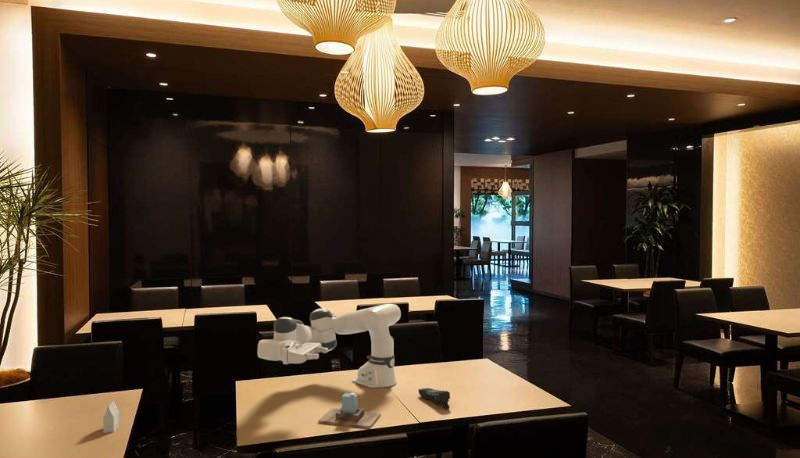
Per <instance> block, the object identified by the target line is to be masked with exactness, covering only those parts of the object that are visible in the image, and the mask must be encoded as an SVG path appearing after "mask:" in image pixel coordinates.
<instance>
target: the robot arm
mask: <svg viewBox="0 0 800 458" xmlns="http://www.w3.org/2000/svg"><path fill="white" fill-rule="evenodd" d="M401 316H402V312H401V309H400V307H399V306H398V305H397V304H395V303H394V304H393V303H384V304H380V305H376V306H375V305H374V306H371V307H367V308H362V309H359V310H354V311H349V312H345V313H341V314H340V315H337V316H334V312H331V310H329V309H327V308H317V309H315V310H313V311H312V312H311V313H310V314H309V321H310V325H311V326H310V325H305V323H304V322H303V321H301V320H299V319H295V318H292V317H289V316H282V317H279V318H277V319H276V320H275V321H274V322H273V338H272V339H270V338H269V339H261V340H259V341H258V343H257V345H256V346H257V347H256V354H257V357H258V358H260V359H263V360H266V361H273V362H274V361H276V362H282V364H283V365H289V364H303V363H305V362H306V361H307V360H318V359H319V358H320V354H319V353H322V354H327V353H328V352H330V351H332V350H333V349H335V348H336V347H337V343H338V342H337V341H338V339H336V334H338V335H352V334H358V333H363V332H367V331H368V332H369V336H370V341H371V346H370V347H371V354H369V355H367V356H366V359H368V361H366V362H365V363H364V364H363V365H362V366H360V367H359V368H358V371H357V374H356V375H357V376H355V377H353V379H352V382H353V383H355V384H358V385H362V386H365V387H368V388H371V389H376V388H388V387H393V386H394V385H397V383H398V382H397V378H396V373H395V354H394V351H395V350H394V347H395V345H394V344H395V343H394V341H395V340H394V338H393V336H391V334H390V330H389V328H390V326H393V325H395V324H396V323H398V321H399V320H400V319H401Z"/></svg>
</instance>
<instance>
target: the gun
mask: <svg viewBox="0 0 800 458" xmlns="http://www.w3.org/2000/svg"><path fill="white" fill-rule="evenodd" d="M450 393H451V392H449V391H448V390H439V389H434V388H429V387H427V388H426V387H423V388H418V394H419V397H422V398H424V399H427V400H431V401H432V402H433V403H434V404H438V405H439V406H440V407H441V406H442V408H443V409H444V410H445V411H446V410H449V409H450V404H449V401H450V400H451V396H450V395H451V394H450ZM449 399H450V400H449Z"/></svg>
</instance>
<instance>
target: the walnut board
mask: <svg viewBox="0 0 800 458" xmlns="http://www.w3.org/2000/svg"><path fill="white" fill-rule="evenodd" d="M381 416H382V415H381V413H379V412H369V411H365V408H362V407H361V408H360V407H358V413H357V414H351V413H342V407H340V408H333V407H332V408H330V409H329V410H328V411H327V412H326V413H325V414H324V415H323V416H322V417H321V418H319V419H318V424H323V423H328V424H327V425H332V424H336V425H335V426H341V425H343V426H342V427H349V426H354V427H353V428H358V427H363V428H362V429H367V428H370V429H371V428H372V427H373V426H374V425H373V424H376V422H377V421H378V420H379V418H380V417H381Z"/></svg>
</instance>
